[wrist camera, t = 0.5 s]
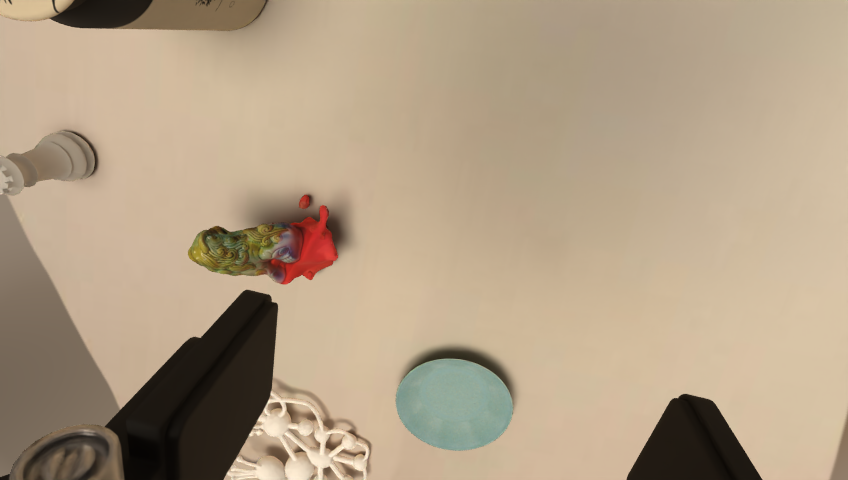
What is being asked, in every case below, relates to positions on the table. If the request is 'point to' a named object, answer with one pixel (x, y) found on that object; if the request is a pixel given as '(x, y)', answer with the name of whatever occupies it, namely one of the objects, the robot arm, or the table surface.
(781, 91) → the table surface
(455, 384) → the saucer
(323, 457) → the tangled rod sculpture
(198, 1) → the travel mug
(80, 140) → the rook chess piece
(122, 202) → the table surface
